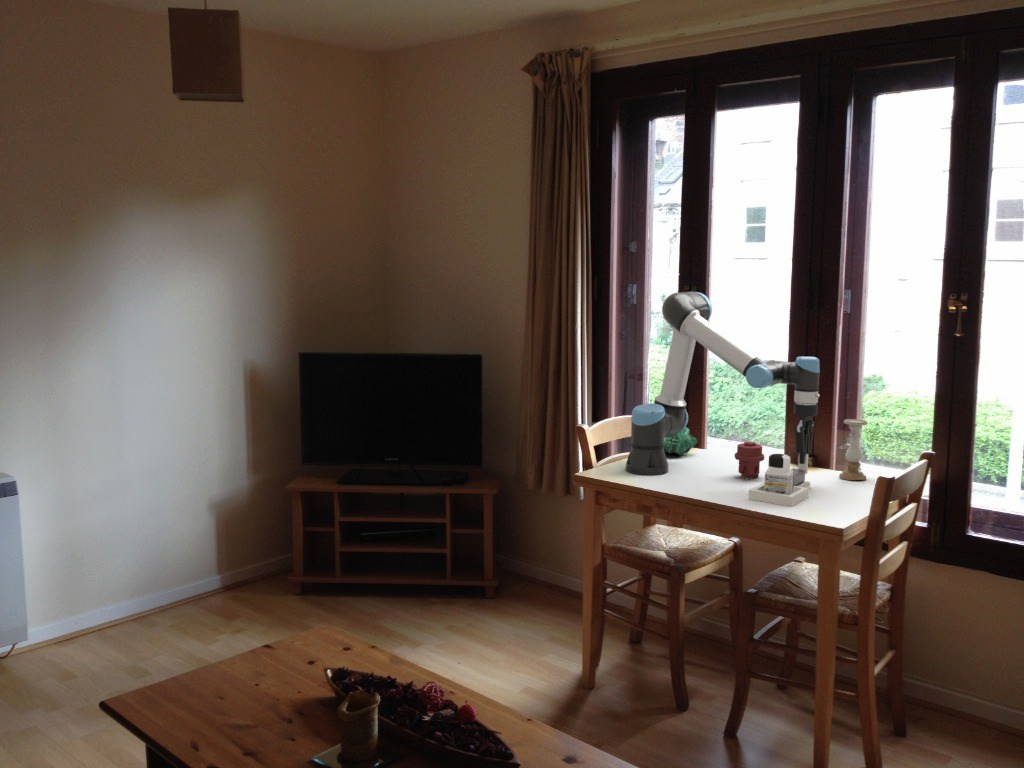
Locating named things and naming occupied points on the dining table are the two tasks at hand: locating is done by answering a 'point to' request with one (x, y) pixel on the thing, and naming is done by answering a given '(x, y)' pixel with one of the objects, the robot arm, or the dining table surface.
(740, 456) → the mechanical component
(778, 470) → the container
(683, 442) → the mineral
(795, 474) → the grey rectangular block
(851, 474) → the candle holder
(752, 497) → the dock socket
